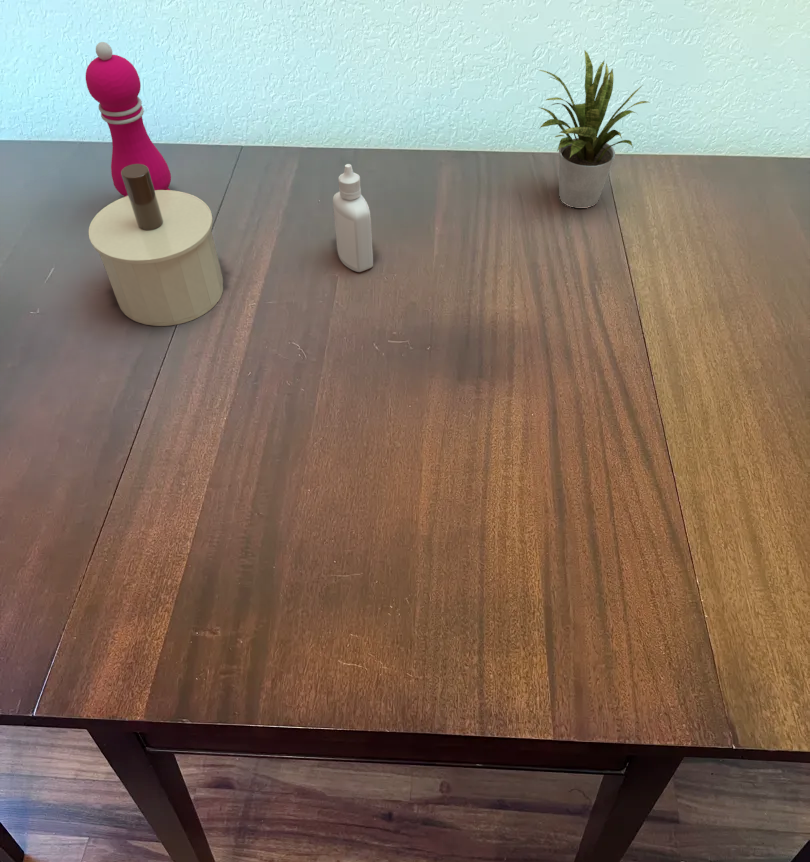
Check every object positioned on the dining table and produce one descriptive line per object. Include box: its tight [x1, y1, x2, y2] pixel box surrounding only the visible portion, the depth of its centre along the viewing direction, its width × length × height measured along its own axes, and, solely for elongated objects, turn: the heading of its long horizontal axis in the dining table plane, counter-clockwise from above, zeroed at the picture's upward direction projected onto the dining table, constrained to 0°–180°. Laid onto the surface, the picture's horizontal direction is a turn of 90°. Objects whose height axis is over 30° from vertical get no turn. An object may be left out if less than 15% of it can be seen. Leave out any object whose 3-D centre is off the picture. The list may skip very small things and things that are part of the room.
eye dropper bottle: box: [332, 163, 374, 273], centre depth 91 cm, size 4×6×12 cm
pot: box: [98, 230, 224, 327], centre depth 89 cm, size 12×12×8 cm
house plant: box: [537, 50, 651, 207], centre depth 97 cm, size 14×14×16 cm
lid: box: [88, 164, 214, 264], centre depth 84 cm, size 13×13×7 cm
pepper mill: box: [85, 41, 172, 197], centre depth 95 cm, size 7×7×20 cm
